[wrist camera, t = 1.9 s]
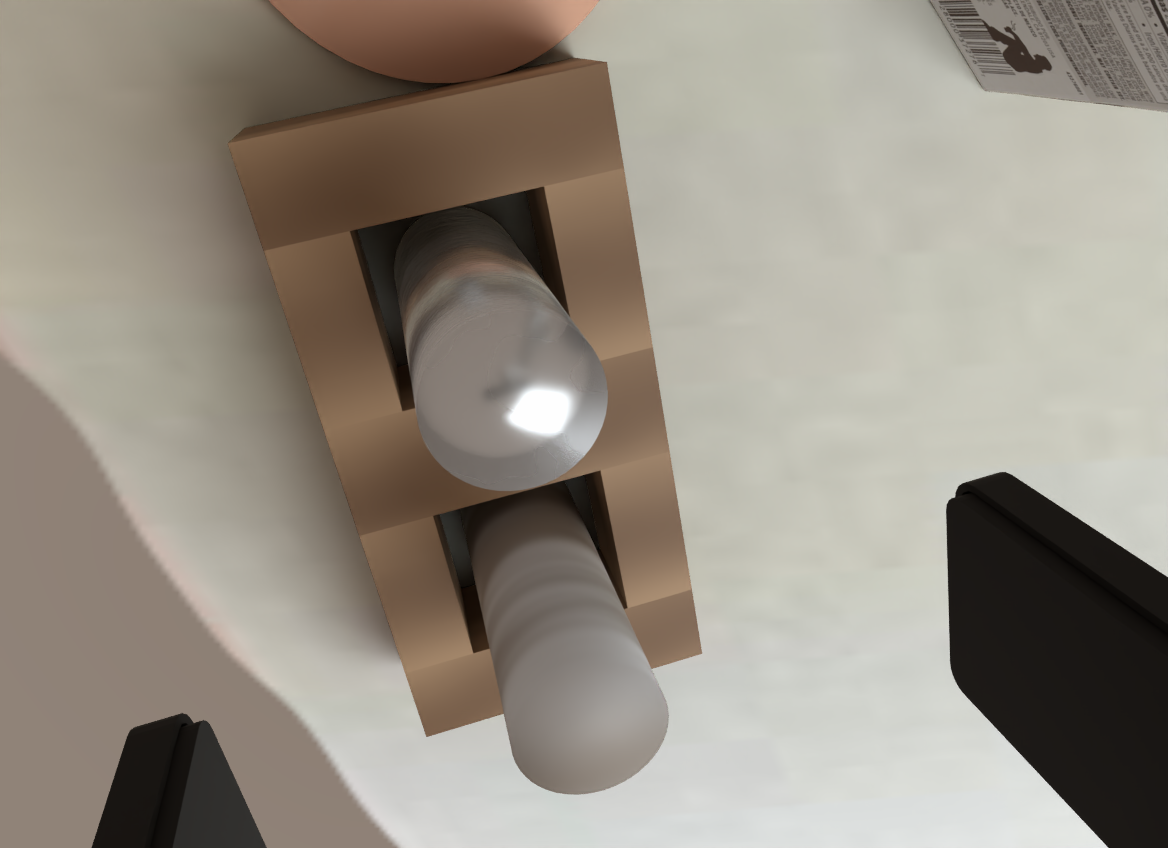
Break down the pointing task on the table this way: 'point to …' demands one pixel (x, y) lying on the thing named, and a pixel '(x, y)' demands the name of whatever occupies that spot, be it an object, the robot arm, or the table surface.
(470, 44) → the disc
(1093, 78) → the coffee box
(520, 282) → the steel peg
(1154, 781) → the robot arm
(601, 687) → the holder block
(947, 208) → the table surface
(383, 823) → the table surface
